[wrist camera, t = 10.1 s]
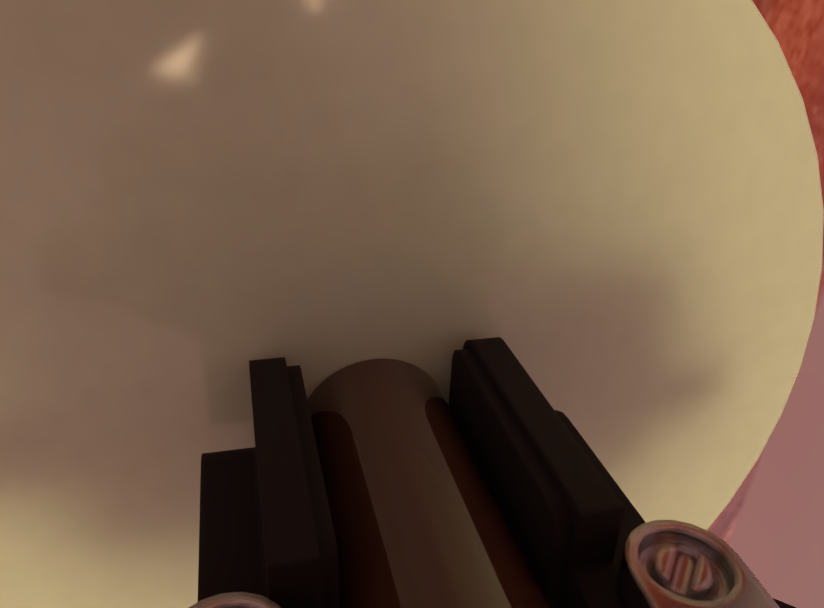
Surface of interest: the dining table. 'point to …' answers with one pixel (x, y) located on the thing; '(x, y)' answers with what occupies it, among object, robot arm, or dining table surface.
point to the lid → (384, 268)
